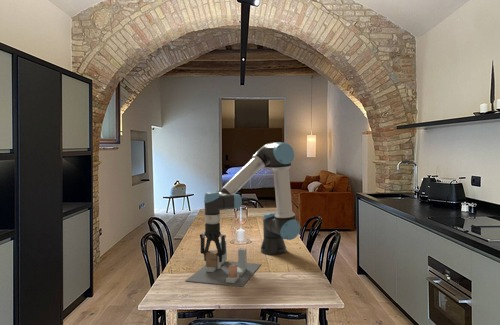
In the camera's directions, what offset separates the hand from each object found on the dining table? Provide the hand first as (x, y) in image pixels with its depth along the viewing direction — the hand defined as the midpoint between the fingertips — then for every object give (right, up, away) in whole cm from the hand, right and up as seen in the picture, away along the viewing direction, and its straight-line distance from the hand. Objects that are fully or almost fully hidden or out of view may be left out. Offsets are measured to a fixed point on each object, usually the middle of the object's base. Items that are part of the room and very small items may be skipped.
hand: (213, 267), depth 190 cm
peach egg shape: (+11, +1, -16) cm, 20 cm away
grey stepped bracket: (+1, -1, +5) cm, 5 cm away
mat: (+7, -1, -5) cm, 8 cm away
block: (0, +1, 0) cm, 1 cm away
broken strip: (+13, -1, -10) cm, 16 cm away
